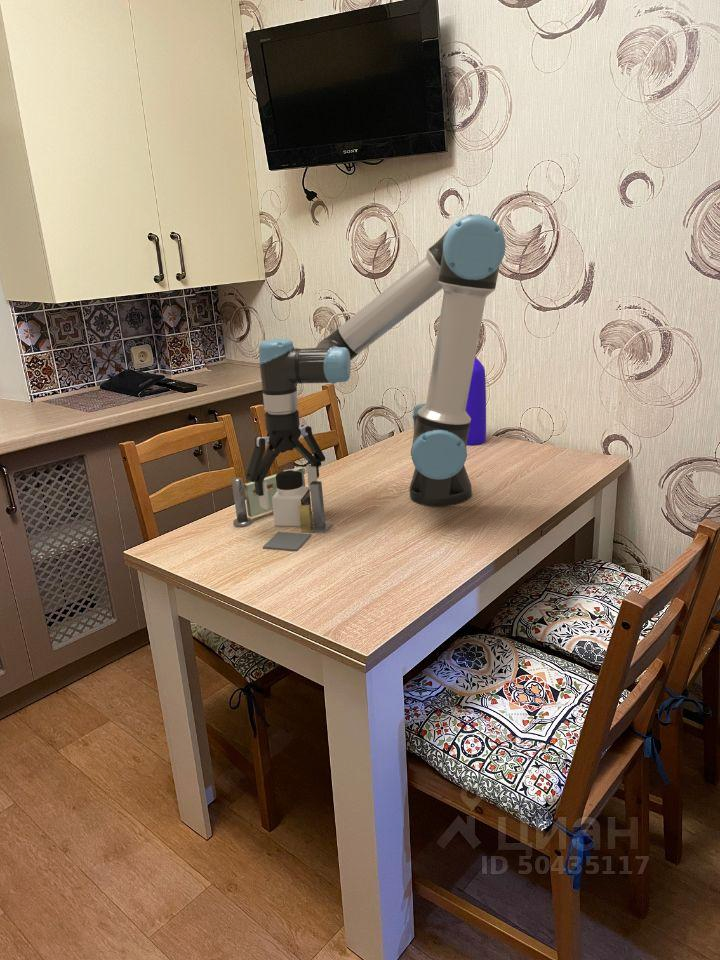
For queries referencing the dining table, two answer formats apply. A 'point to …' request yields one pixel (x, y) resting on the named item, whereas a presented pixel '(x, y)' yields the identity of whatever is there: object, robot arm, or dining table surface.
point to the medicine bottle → (289, 498)
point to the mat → (287, 541)
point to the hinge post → (240, 504)
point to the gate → (253, 499)
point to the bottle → (477, 405)
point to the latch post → (314, 511)
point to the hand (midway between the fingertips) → (289, 499)
